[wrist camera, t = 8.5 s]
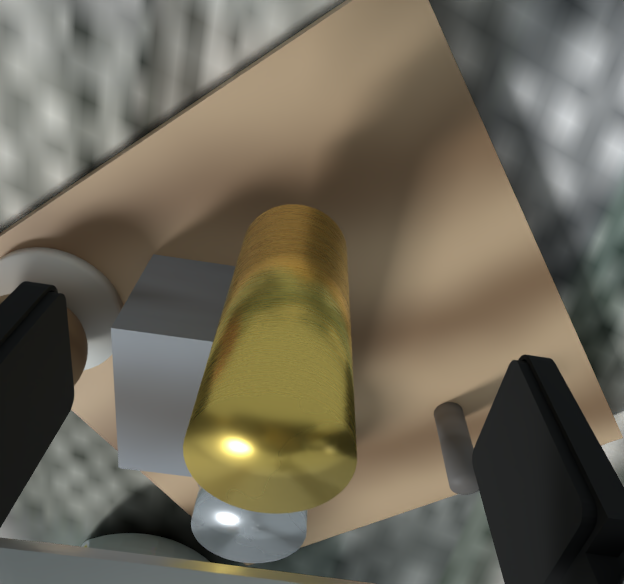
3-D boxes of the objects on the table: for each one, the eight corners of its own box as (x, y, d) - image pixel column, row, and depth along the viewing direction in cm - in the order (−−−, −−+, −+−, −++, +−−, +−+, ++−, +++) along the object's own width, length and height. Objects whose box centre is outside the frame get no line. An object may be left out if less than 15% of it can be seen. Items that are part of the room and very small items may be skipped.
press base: (610, 417, 25) (677, 530, 20) (249, 545, 30) (234, 656, 26) (405, -40, 16) (438, -33, 11) (-52, 267, 21) (-160, 359, 17)
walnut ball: (126, 333, 21) (86, 410, 17) (50, 374, 22) (-1, 453, 18) (48, 251, 19) (-14, 319, 15) (-31, 301, 20) (-104, 373, 17)
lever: (299, 525, 24) (285, 786, 17) (198, 512, 24) (138, 772, 16) (381, 192, 16) (426, 416, 8) (228, 166, 15) (131, 373, 8)
